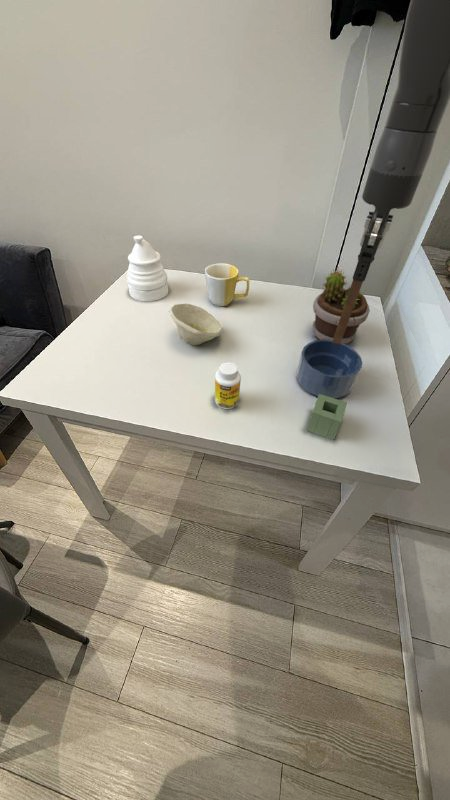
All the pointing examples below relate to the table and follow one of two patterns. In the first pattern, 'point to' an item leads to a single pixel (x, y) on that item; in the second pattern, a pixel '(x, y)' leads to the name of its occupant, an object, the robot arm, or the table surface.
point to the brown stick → (347, 310)
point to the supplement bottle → (227, 385)
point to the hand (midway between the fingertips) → (359, 277)
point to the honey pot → (146, 272)
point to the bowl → (195, 323)
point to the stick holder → (327, 416)
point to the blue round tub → (328, 368)
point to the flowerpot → (337, 309)
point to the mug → (223, 283)
